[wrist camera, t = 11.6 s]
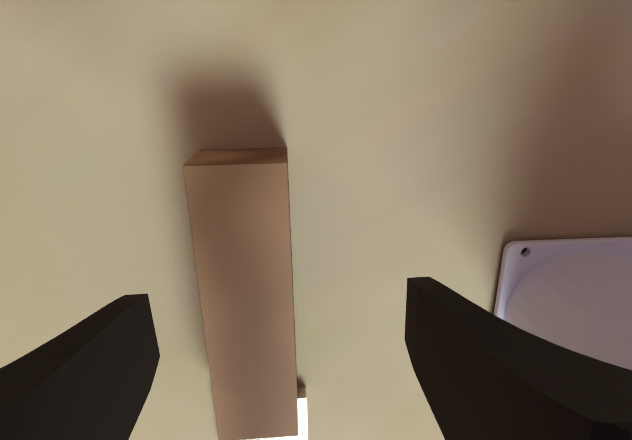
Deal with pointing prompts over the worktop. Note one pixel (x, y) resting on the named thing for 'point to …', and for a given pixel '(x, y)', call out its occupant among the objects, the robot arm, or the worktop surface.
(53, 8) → the worktop surface
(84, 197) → the worktop surface
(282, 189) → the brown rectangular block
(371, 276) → the worktop surface
